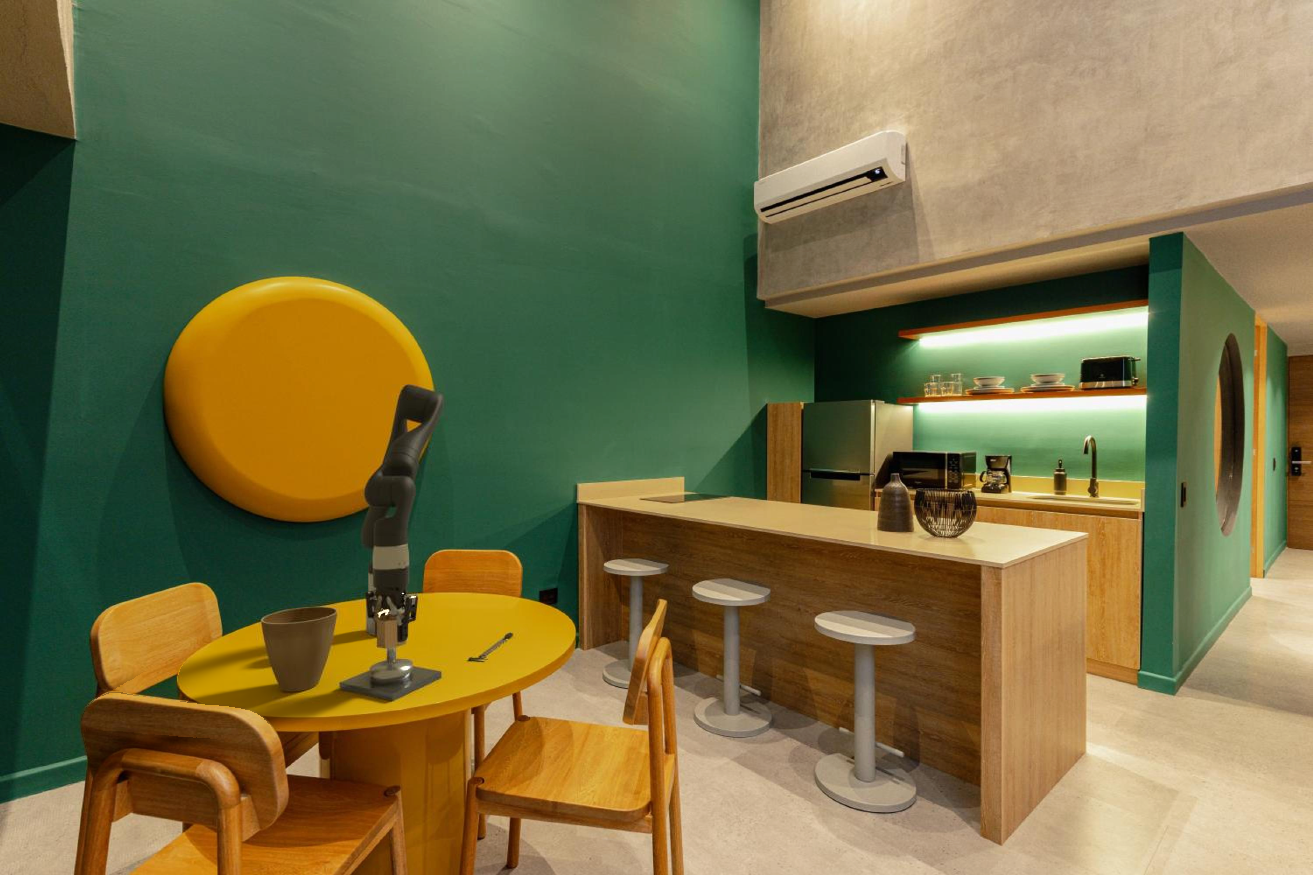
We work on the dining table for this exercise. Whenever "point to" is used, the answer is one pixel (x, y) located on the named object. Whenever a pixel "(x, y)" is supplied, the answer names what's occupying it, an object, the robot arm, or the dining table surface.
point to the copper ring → (387, 632)
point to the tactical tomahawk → (491, 649)
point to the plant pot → (299, 645)
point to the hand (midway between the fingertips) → (391, 638)
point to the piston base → (390, 688)
